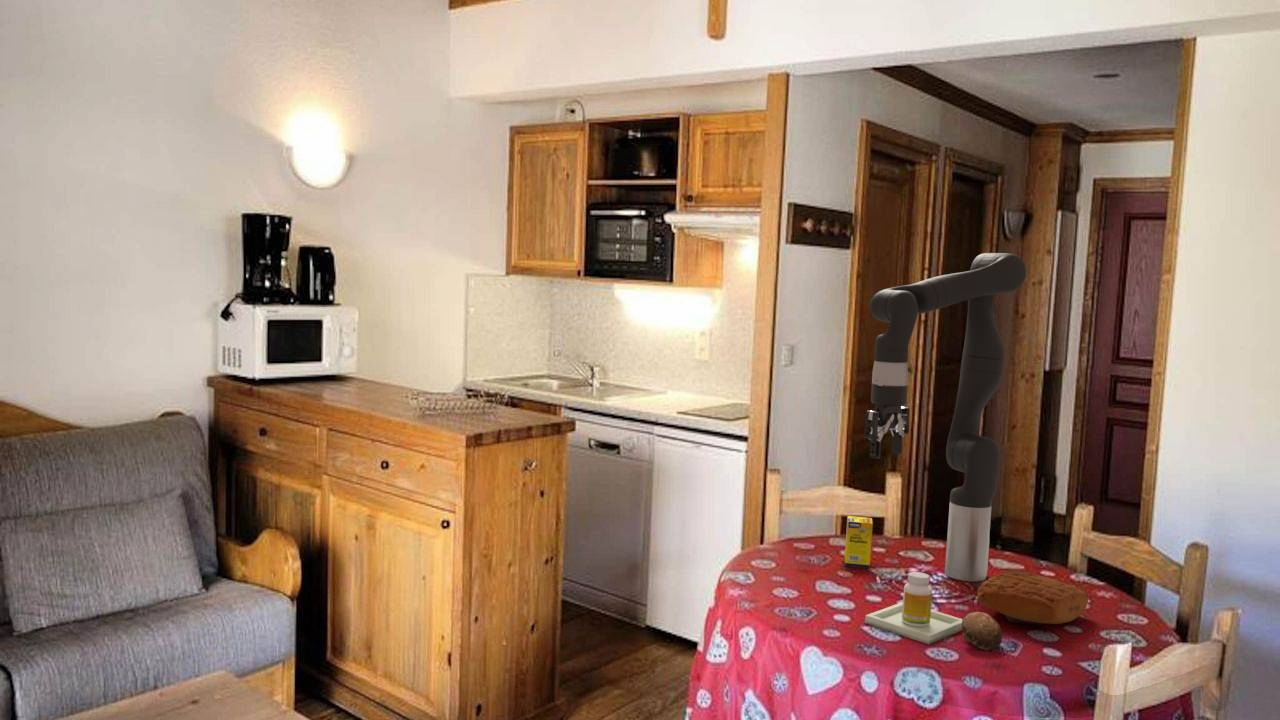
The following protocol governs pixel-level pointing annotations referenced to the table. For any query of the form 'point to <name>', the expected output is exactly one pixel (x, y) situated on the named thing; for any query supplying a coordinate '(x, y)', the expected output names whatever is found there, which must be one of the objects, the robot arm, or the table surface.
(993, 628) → the mushroom
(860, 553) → the supplement box
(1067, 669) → the table surface
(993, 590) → the clay tablet
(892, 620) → the tray
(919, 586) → the supplement bottle
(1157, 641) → the table surface
